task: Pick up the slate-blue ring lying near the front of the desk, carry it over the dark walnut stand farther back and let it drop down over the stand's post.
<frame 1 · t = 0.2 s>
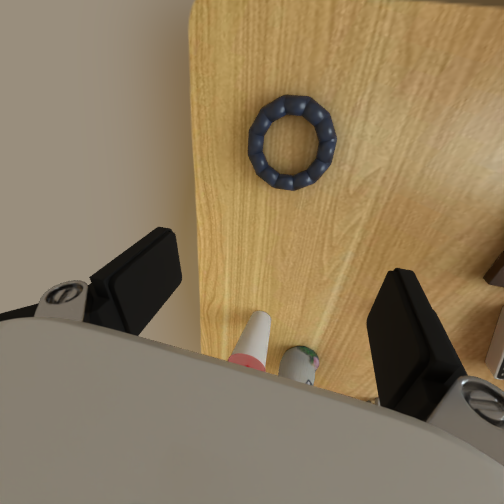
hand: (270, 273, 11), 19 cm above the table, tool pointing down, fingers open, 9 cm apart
cup: (261, 317, 40), on the table
decorative ornament: (300, 357, 43), on the table
ring: (289, 146, 24), point 1 cm above the table
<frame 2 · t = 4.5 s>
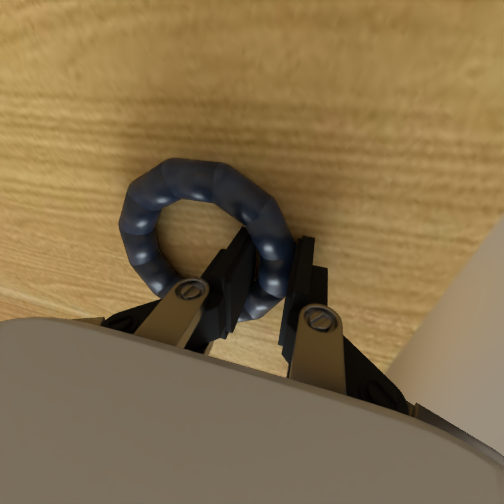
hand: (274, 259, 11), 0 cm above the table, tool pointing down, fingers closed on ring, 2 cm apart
ring: (204, 254, 12), point 1 cm above the table, touching gripper
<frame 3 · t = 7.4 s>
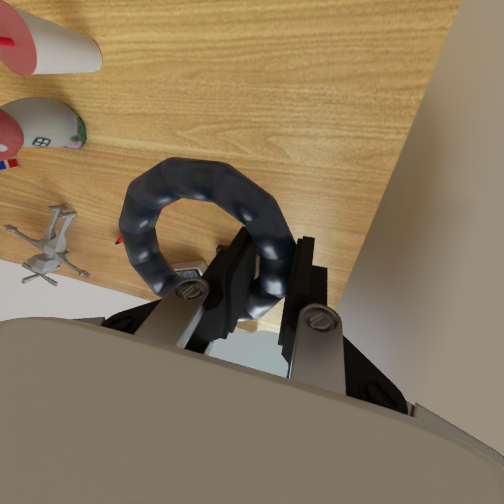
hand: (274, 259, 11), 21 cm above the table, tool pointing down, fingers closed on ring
cup: (91, 55, 29), on the table
figurine: (69, 236, 49), on the table
rubik's cube: (2, 146, 41), on the table
decorative ornament: (66, 125, 35), on the table
ring: (204, 253, 12), point 22 cm above the table, touching gripper
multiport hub: (184, 271, 45), on the table
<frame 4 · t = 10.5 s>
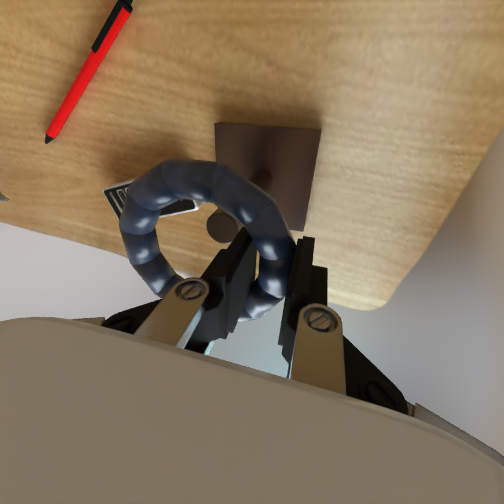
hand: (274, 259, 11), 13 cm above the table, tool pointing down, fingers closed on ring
pen: (86, 83, 23), on the table
ring: (204, 253, 12), point 14 cm above the table, touching gripper
stand: (264, 177, 23), on the table
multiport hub: (161, 191, 27), on the table
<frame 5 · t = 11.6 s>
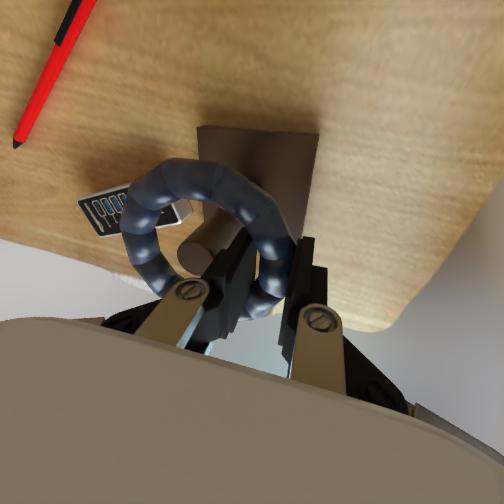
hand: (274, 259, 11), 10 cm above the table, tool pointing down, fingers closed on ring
pen: (54, 81, 20), on the table
ring: (204, 253, 12), point 10 cm above the table, touching gripper
stand: (255, 188, 20), on the table
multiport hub: (142, 202, 24), on the table
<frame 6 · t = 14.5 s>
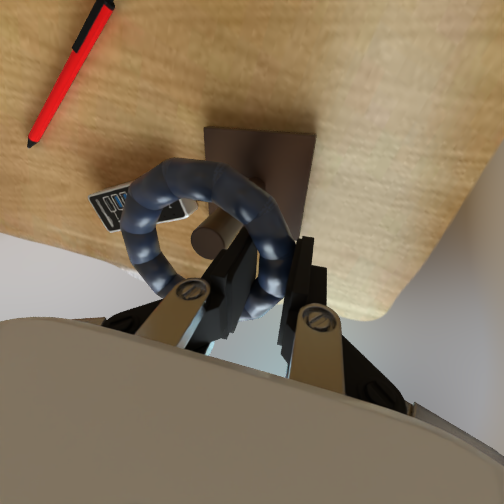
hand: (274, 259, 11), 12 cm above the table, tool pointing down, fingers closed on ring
pen: (69, 84, 21), on the table
ring: (204, 253, 12), point 12 cm above the table, touching gripper
stand: (257, 184, 22), on the table
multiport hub: (150, 198, 26), on the table
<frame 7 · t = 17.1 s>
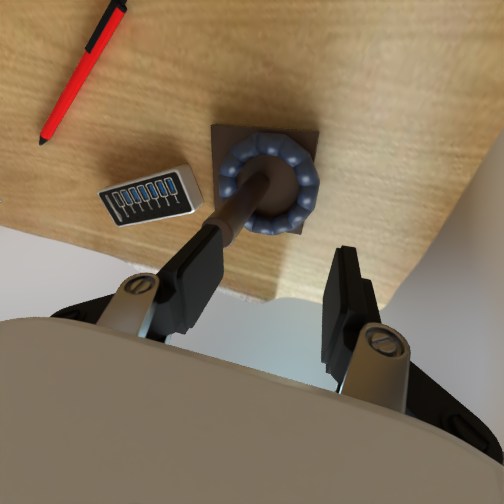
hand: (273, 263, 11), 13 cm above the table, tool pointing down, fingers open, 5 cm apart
pen: (81, 84, 22), on the table
ring: (266, 188, 21), point 2 cm above the table, touching stand
stand: (262, 180, 22), on the table
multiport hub: (157, 194, 27), on the table
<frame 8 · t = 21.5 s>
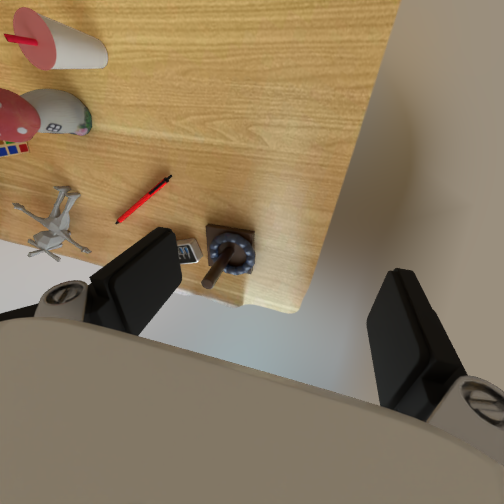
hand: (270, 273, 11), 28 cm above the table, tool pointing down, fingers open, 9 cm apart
pen: (142, 201, 46), on the table
cup: (98, 53, 34), on the table
figurine: (71, 216, 53), on the table
rubik's cube: (14, 133, 45), on the table
decorative ornament: (74, 114, 40), on the table
ring: (232, 254, 44), point 2 cm above the table, touching stand
stand: (231, 247, 46), on the table
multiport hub: (177, 249, 50), on the table
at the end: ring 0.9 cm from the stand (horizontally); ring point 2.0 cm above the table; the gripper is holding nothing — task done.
